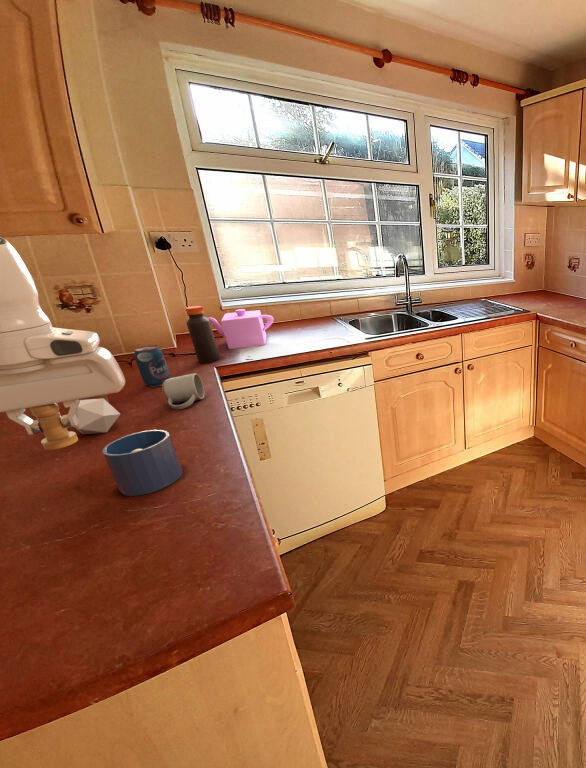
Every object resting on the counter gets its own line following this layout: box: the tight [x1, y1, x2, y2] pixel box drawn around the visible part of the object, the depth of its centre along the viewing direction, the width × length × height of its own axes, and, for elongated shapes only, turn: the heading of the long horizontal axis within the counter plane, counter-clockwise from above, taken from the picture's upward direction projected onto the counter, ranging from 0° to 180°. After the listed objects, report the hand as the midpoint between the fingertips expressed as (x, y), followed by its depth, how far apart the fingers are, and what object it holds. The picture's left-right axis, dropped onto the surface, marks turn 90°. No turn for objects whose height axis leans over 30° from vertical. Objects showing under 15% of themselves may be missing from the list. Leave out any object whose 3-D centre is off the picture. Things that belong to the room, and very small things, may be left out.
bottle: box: [185, 305, 221, 364], centre depth 153 cm, size 7×7×20 cm
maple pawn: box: [30, 403, 79, 451], centre depth 67 cm, size 4×4×8 cm
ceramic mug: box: [161, 372, 205, 410], centre depth 120 cm, size 11×8×8 cm
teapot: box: [205, 308, 275, 350], centre depth 177 cm, size 15×25×14 cm, turn 117°
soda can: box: [133, 344, 172, 388], centre depth 134 cm, size 7×7×12 cm
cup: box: [101, 429, 184, 497], centre depth 84 cm, size 10×10×9 cm
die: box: [73, 398, 121, 435], centre depth 105 cm, size 8×9×10 cm
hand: (55, 429), depth 68 cm, fingers closed on maple pawn, 2 cm apart
